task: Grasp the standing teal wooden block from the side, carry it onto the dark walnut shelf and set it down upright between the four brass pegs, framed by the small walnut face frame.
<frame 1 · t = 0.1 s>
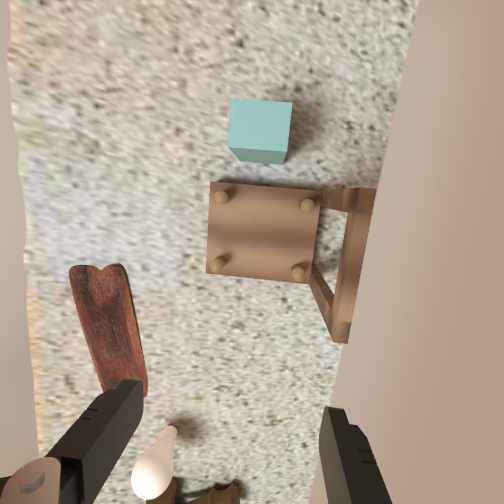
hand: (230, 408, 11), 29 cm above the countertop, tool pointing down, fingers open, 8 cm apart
wooden tablet: (115, 335, 46), on the countertop
peg shelf: (261, 231, 39), on the countertop
teal block: (263, 146, 36), on the countertop
kendama: (191, 490, 51), on the countertop
lightbulb: (172, 426, 48), on the countertop
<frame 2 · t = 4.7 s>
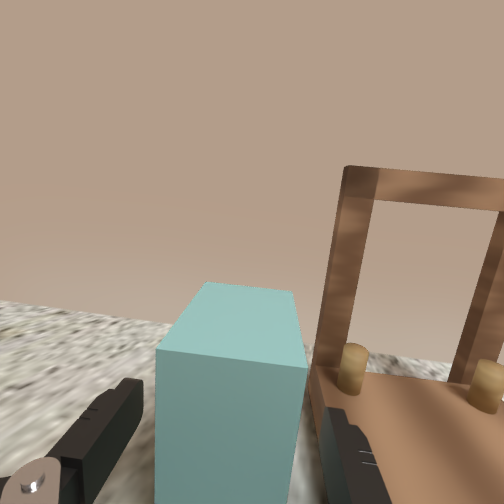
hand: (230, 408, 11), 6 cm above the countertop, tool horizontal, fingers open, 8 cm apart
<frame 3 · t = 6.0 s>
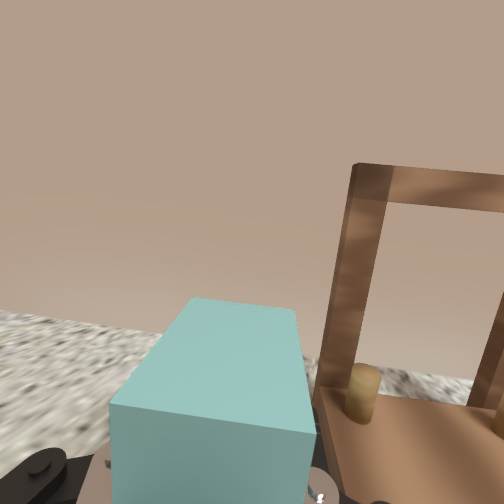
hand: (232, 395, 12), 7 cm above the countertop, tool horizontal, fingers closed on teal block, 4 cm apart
when the fingers open (11 cm above the countertop, at t = 10.3 s): teal block drops 1 cm, resting on peg shelf.
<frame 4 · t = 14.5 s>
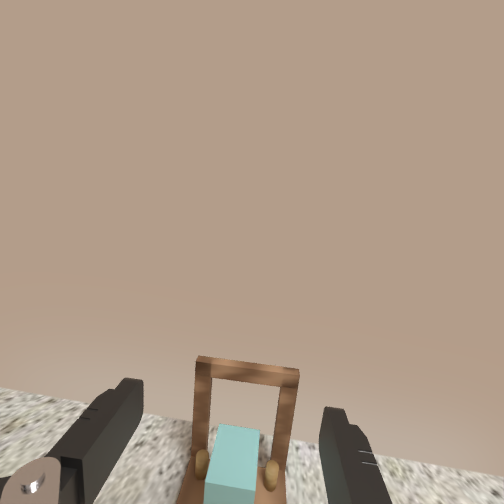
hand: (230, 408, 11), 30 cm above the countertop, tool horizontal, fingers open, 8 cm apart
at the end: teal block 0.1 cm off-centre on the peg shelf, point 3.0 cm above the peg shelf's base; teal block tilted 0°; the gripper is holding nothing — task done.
